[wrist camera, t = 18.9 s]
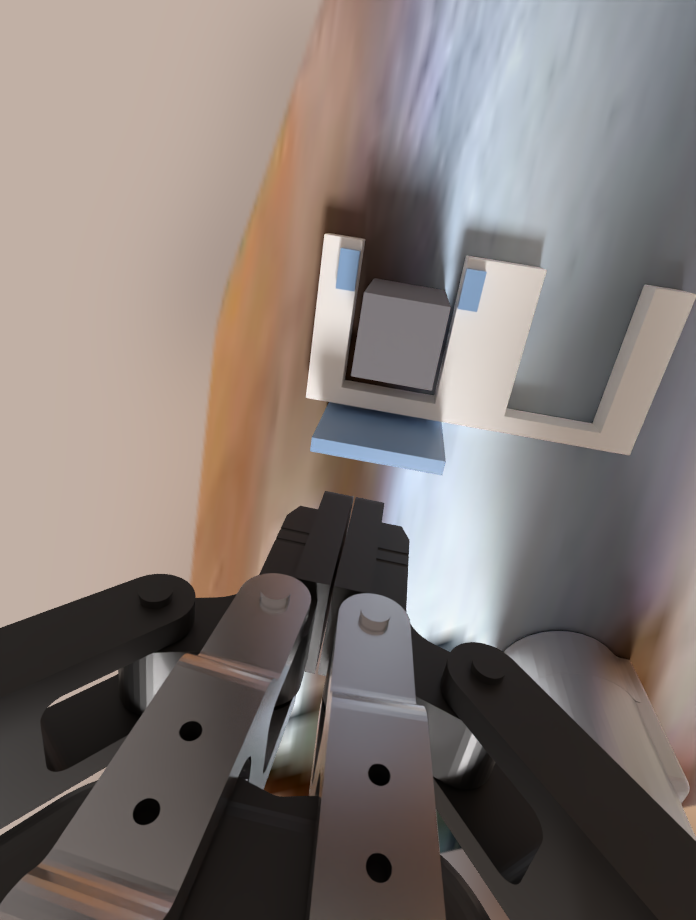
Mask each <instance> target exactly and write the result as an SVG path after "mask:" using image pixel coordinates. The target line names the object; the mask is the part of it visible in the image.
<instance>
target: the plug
mask: <svg viewBox="0 0 696 920" xmlns="http://www.w3.org/2000/svg"><path fill="white" fill-rule="evenodd" d="M450 309H451V306H450V303H449V301H448V298H447V295H446V292H445V290H441V289H435V288H429V287H423V286H418V285H412V284H406V283H400V282H394V281H389V280H383V279H377V278H374V279H373V280H372V282H371V283H370V285H369V286H368V287H367V289H366V290H365V292H364V296H363V302H362V308H361V315H360V321H359V328H358V334H357V340H356V347H355V353H354V360H353V366H352V373H351V376H353V377H359V378H364V379H370V380H375V381H381V382H386V383H392V384H397V385H403V386H408V387H414V388H419V389H425V390H430V391H432V387H433V383H434V379H435V374H436V370H437V365H438V361H439V357H440V352H441V348H442V344H443V339H444V335H445V330H446V326H447V322H448V317H449V313H450Z"/></svg>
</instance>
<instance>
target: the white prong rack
mask: <svg viewBox="0 0 696 920" xmlns="http://www.w3.org/2000/svg"><path fill="white" fill-rule="evenodd" d="M364 245H365V239H363V238H357V237H351V236H344V235H338V234H332V233H327V234H324V243H323V252H322V261H321V270H320V278H319V287H318V296H317V305H316V313H315V322H314V331H313V340H312V349H311V357H310V366H309V375H308V384H307V392H306V398H311V399H316V400H322V401H327V402H329V403H328V405H327V407H326V409H325V411H324V414H323V416H322V418H321V420H320V422H319V424H318V426H317V428H316V430H315V432H314V434H313V436H312V441H311V449H310V451H312V452H317V453H323V454H328V455H334V456H339V457H345V458H350V459H356V460H361V461H366V462H372V463H377V464H383V465H388V466H394V467H399V468H405V469H410V470H415V471H421V472H426V473H432V474H437V475H442V474H443V470H444V466H445V462H446V461H445V452H444V442H443V433H442V424H441V422H445V423H451V424H456V425H462V426H467V427H473V428H479V429H484V430H490V431H495V432H501V433H507V434H512V435H518V436H523V437H529V438H535V439H540V440H546V441H551V442H557V443H563V444H568V445H574V446H579V447H585V448H591V449H596V450H602V451H607V452H613V453H618V454H624V455H630V454H631V451H632V449H633V446H634V444H635V442H636V439H637V437H638V434H639V432H640V430H641V427H642V425H643V422H644V420H645V418H646V415H647V413H648V411H649V408H650V406H651V403H652V401H653V399H654V396H655V394H656V391H657V389H658V387H659V384H660V382H661V380H662V377H663V375H664V372H665V370H666V368H667V365H668V363H669V360H670V358H671V356H672V353H673V351H674V349H675V346H676V344H677V341H678V339H679V337H680V334H681V332H682V329H683V327H684V325H685V322H686V320H687V317H688V315H689V313H690V310H691V308H692V306H693V303H694V301H695V298H696V294H693V293H690V292H686V291H683V290H676V289H670V288H664V287H658V286H652V285H646V284H644V287H643V289H642V292H641V295H640V297H639V300H638V303H637V305H636V308H635V311H634V313H633V316H632V319H631V321H630V324H629V327H628V329H627V332H626V335H625V337H624V340H623V343H622V345H621V348H620V351H619V353H618V356H617V359H616V361H615V364H614V367H613V370H612V372H611V375H610V378H609V380H608V383H607V386H606V388H605V391H604V394H603V396H602V399H601V402H600V404H599V407H598V410H597V412H596V415H595V418H594V420H593V423H587V422H582V421H576V420H570V419H565V418H559V417H553V416H548V415H542V414H536V413H531V412H525V411H519V410H514V409H508V408H507V405H508V402H509V398H510V395H511V391H512V388H513V384H514V381H515V378H516V374H517V371H518V367H519V364H520V361H521V357H522V354H523V350H524V347H525V343H526V340H527V337H528V333H529V330H530V326H531V323H532V319H533V316H534V313H535V309H536V306H537V302H538V299H539V296H540V292H541V289H542V285H543V282H544V278H545V275H546V272H547V270H545V269H543V268H541V267H535V266H529V265H523V264H517V263H510V262H504V261H498V260H492V259H486V258H480V257H474V256H467V255H466V258H465V262H464V266H463V271H462V275H461V280H460V284H459V288H458V293H457V297H456V302H455V306H454V311H453V315H452V319H451V324H450V328H449V333H448V337H447V342H446V346H445V350H444V355H443V359H442V364H441V368H440V373H439V377H438V381H437V386H436V390H435V395H429V394H423V393H417V392H412V391H406V390H400V389H395V388H389V387H383V386H378V385H372V384H366V383H361V382H355V381H349V380H345V376H346V369H347V362H348V355H349V348H350V341H351V334H352V328H353V321H354V314H355V307H356V300H357V293H358V286H359V280H360V273H361V266H362V259H363V252H364Z"/></svg>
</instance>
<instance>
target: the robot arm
mask: <svg viewBox="0 0 696 920" xmlns="http://www.w3.org/2000/svg"><path fill="white" fill-rule="evenodd" d="M352 503H353V497H352V496H347V495H343V494H338V493H333V492H328V491H325V493H324V495H323V498H322V501H321V503H320V506H319V509H313V508H308V507H303V506H299V507H298V508H297V509H295V510H294V511H292V512H291V513H289V514H288V515H287V516H286V518H285V521H284V523H283V525H282V527H281V530H280V531H279V533H278V536H277V538H276V540H275V542H274V544H273V546H272V548H271V551H270V553H269V555H268V557H267V559H266V561H265V563H264V566H263V568H262V570H261V572H260V574H259V575H258V576H255V577H253V578H251V579H249V580H248V581H246V582H245V583H244V584H243V586H242V587H241V588H240V590H239V591H238V593H237V594H235V595H232V596H226V597H217V598H195V591H194V589H193V587H192V586H191V585H190V584H189V583H188V582H187V581H185V580H184V579H182V578H180V577H177V576H173V575H168V574H152V575H146V576H143V577H139V578H136V579H134V580H131V581H128V582H126V583H123V584H120V585H117V586H115V587H112V588H109V589H106V590H104V591H101V592H98V593H95V594H93V595H90V596H87V597H84V598H81V599H79V600H76V601H73V602H70V603H68V604H65V605H62V606H59V607H57V608H54V609H51V610H48V611H46V612H43V613H40V614H37V615H35V616H32V617H29V618H26V619H24V620H21V621H18V622H15V623H13V624H10V625H7V626H5V627H2V628H0V829H1V828H3V827H5V826H7V825H8V824H10V823H11V822H13V821H15V820H17V819H19V818H20V817H22V816H23V815H25V814H27V813H28V812H30V811H32V810H34V809H35V808H37V807H39V806H41V805H42V804H44V803H46V802H47V801H49V800H51V799H52V798H54V797H56V796H57V795H59V794H61V793H63V792H64V791H66V790H68V789H70V788H71V787H73V786H74V785H76V784H78V783H80V782H81V781H83V780H85V779H87V778H88V777H90V776H92V775H93V774H95V773H97V772H98V771H100V770H102V769H104V768H105V767H107V768H106V769H105V771H104V772H103V774H102V775H101V777H100V778H99V780H97V781H95V782H92V783H90V784H87V785H85V786H83V787H80V788H78V789H76V790H74V791H72V792H70V793H68V794H66V795H65V796H63V797H61V798H60V799H58V800H56V801H55V802H53V803H52V804H50V805H48V806H47V807H45V808H44V809H42V810H41V811H39V812H37V813H35V814H34V815H33V816H31V817H29V818H28V819H26V820H24V821H23V822H21V823H20V824H18V825H17V826H15V827H13V828H12V829H10V830H9V831H7V832H5V833H4V834H2V835H1V836H0V920H490V918H489V916H488V914H487V913H486V911H485V910H484V908H483V906H482V905H481V903H480V901H479V900H478V899H477V897H476V895H475V894H474V892H473V891H472V890H471V888H470V887H469V886H468V884H467V883H466V882H465V880H464V879H463V878H462V876H461V875H460V874H459V873H458V872H457V871H456V870H455V869H454V868H453V867H452V865H451V864H450V863H449V862H448V861H447V860H446V859H444V858H443V857H442V856H441V855H440V850H439V839H438V828H437V817H436V809H437V811H438V812H439V814H440V815H441V817H442V819H443V820H444V822H445V823H446V825H447V826H448V828H449V829H450V831H451V832H452V834H453V835H454V837H455V838H456V840H457V841H458V843H459V844H460V846H461V847H462V849H463V850H464V852H465V853H466V855H467V856H468V858H469V859H470V861H471V862H472V863H473V865H474V867H475V868H476V870H477V871H478V873H479V874H480V876H481V877H482V879H483V880H484V882H485V883H486V885H487V886H488V888H489V889H490V891H491V892H492V894H493V895H494V897H495V898H496V900H497V901H498V903H499V904H500V906H501V907H502V909H503V910H504V912H505V913H506V915H507V916H508V918H509V919H510V920H696V837H695V835H694V832H693V830H692V828H691V825H690V823H689V821H688V819H687V816H686V814H685V812H684V810H683V807H682V805H681V803H682V802H683V800H684V799H685V798H686V796H687V795H688V793H689V783H688V781H687V779H686V777H685V774H684V772H683V770H682V768H681V766H680V764H679V762H678V760H677V758H676V755H675V753H674V751H673V749H672V747H671V745H670V743H669V741H668V739H667V736H666V734H665V732H664V730H663V728H662V726H661V724H660V722H659V720H658V718H657V715H656V713H655V711H654V709H653V707H652V705H651V703H650V701H649V699H648V696H647V694H646V692H645V690H644V688H643V686H642V684H641V682H640V680H639V677H638V675H637V673H636V671H635V669H634V667H633V665H632V663H631V661H630V660H628V659H623V658H619V657H617V656H615V655H614V654H613V653H612V652H611V651H610V650H609V649H608V648H607V647H606V646H605V645H604V644H602V643H600V642H599V641H597V640H596V639H594V638H591V637H589V636H586V635H584V634H579V633H574V632H570V631H549V632H541V633H537V634H534V635H530V636H527V637H525V638H523V639H521V640H519V641H516V642H515V643H514V644H512V645H511V646H510V647H508V648H507V649H506V650H505V651H504V652H502V651H501V650H499V649H497V648H495V647H492V646H490V645H486V644H483V643H475V642H470V643H463V644H460V645H458V646H456V647H455V648H454V649H452V651H451V652H449V651H447V650H445V649H442V648H440V647H438V646H436V645H434V644H432V643H431V642H429V641H427V640H426V639H424V638H423V637H422V636H421V635H419V634H418V633H417V632H416V631H415V629H414V628H413V627H412V625H411V624H410V619H409V617H408V614H407V613H406V601H407V579H408V558H409V556H408V555H409V539H408V537H407V535H406V534H405V532H404V530H403V528H402V527H401V526H396V525H391V524H386V523H382V516H383V509H384V503H382V502H377V501H372V500H367V499H363V498H358V497H356V499H355V503H354V507H353V511H352V515H351V519H350V514H351V509H352ZM349 520H350V523H349ZM348 525H349V527H348ZM347 530H348V531H347ZM327 620H328V621H327ZM326 625H327V627H326ZM325 629H326V632H325ZM324 633H325V638H324V643H323V648H322V654H321V659H320V665H319V670H318V674H319V675H324V676H326V679H325V685H324V690H323V695H322V700H321V706H320V711H319V718H318V726H317V734H316V742H315V750H314V758H313V766H312V775H311V783H310V791H309V796H293V797H279V796H275V795H272V794H270V793H268V792H266V791H265V790H263V789H264V786H265V783H266V780H267V777H268V775H269V772H270V769H271V767H272V764H273V761H274V758H275V756H276V753H277V750H278V747H279V745H280V742H281V739H282V736H283V734H284V731H285V728H286V725H287V723H288V720H289V717H290V714H291V712H292V709H293V706H294V702H295V697H296V694H297V692H298V691H299V688H300V686H301V682H302V678H303V674H304V671H305V672H309V673H314V674H315V670H316V666H317V662H318V658H319V653H320V649H321V645H322V641H323V637H324ZM116 670H118V672H119V674H117V675H115V676H113V677H111V678H109V679H107V680H105V681H103V682H101V683H99V684H97V685H94V686H92V687H90V688H88V689H86V690H84V691H82V692H80V693H78V694H76V695H74V696H71V697H69V698H67V699H66V700H63V701H61V702H59V703H57V704H55V705H53V706H51V707H48V706H49V705H50V704H51V703H53V702H54V701H55V700H56V699H58V698H59V697H61V696H63V695H65V694H67V693H69V692H72V691H73V690H76V689H78V688H80V687H82V686H84V685H86V684H88V683H91V682H93V681H95V680H97V679H99V678H101V677H103V676H105V675H108V674H110V673H112V672H114V671H116ZM47 707H48V708H47Z"/></svg>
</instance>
